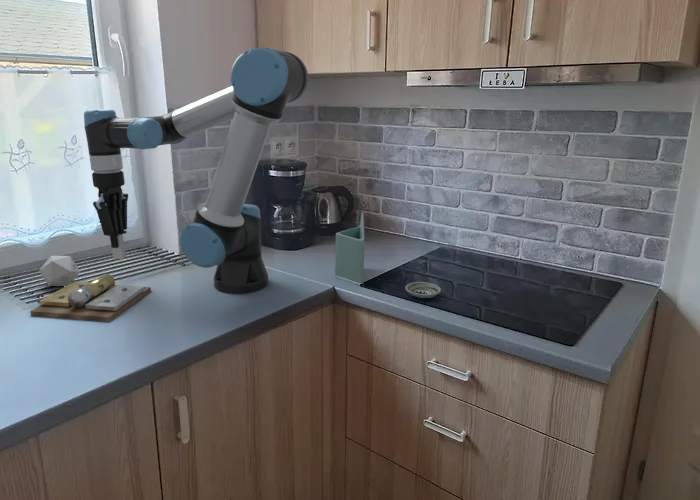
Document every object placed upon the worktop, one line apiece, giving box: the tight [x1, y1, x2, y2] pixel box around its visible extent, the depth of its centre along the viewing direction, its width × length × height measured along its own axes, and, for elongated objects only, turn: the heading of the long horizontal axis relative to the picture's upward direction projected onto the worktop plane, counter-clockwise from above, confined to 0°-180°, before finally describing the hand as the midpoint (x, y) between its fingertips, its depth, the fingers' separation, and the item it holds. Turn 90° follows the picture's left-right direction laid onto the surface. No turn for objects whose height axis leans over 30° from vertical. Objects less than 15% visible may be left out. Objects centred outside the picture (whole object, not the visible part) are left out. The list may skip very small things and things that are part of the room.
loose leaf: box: [39, 273, 116, 307], centre depth 134 cm, size 12×14×4 cm
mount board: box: [30, 284, 152, 323], centre depth 134 cm, size 20×20×1 cm
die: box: [38, 255, 81, 287], centre depth 145 cm, size 8×9×10 cm
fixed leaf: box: [68, 284, 145, 311], centre depth 133 cm, size 12×14×4 cm
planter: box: [334, 212, 365, 285], centre depth 155 cm, size 16×8×20 cm, turn 2°
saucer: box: [404, 281, 442, 299], centre depth 144 cm, size 10×10×2 cm
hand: (119, 257), depth 143 cm, fingers closed
